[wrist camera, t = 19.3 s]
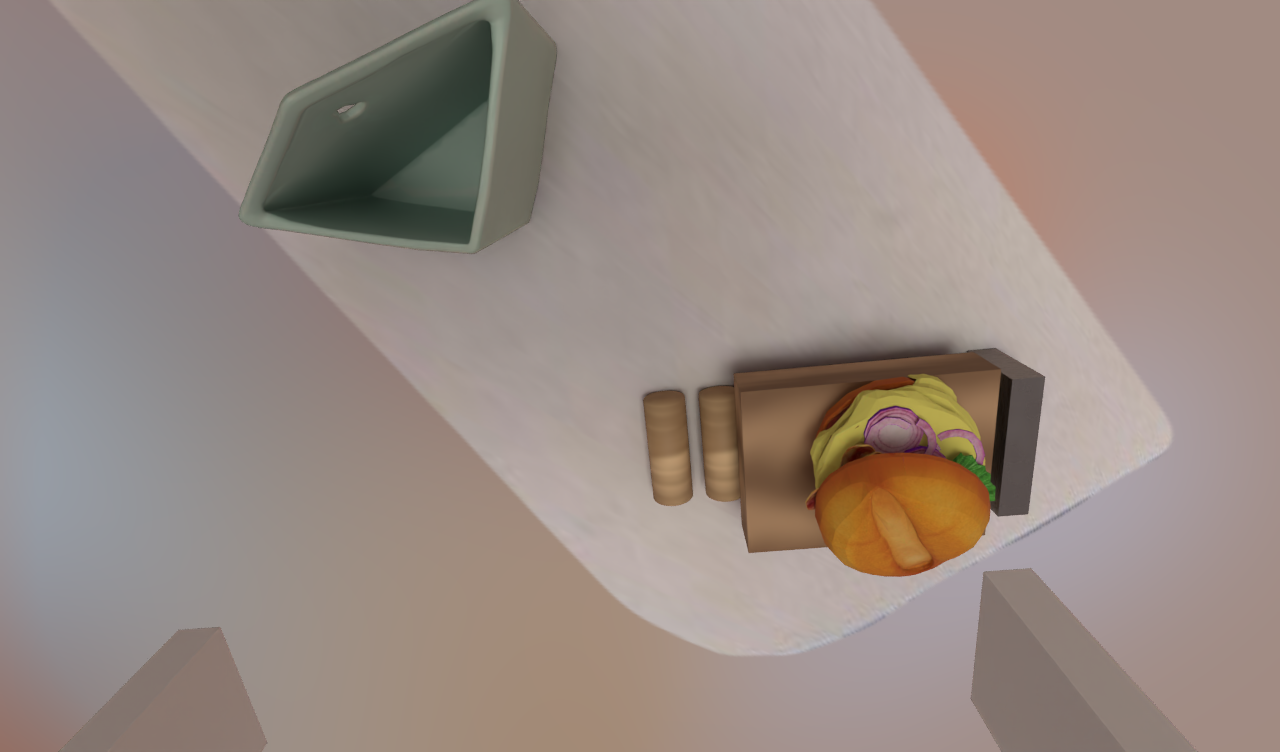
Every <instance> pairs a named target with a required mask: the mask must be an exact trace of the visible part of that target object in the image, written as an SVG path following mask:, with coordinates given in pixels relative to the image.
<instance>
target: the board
mask: <svg viewBox="0 0 1280 752" xmlns="http://www.w3.org/2000/svg"><path fill="white" fill-rule="evenodd" d="M919 374H927V375H930V376H934V377H938V378H939V379H940V380H941V381H942V382H944V383H945V384H946V385H947V386H948V387H950V388H951V389H952V390H953V392H954V394H955V395H956V397H957V403H958V404H959V405H960V406H961V407H963V408H964V409H965V410H966V411H967V412H968V413H969V415H970V416H971V417H972V419H973V420H974V422H975V423H976V426H977V428H978V431H979V434H980V437H981V438H980V441H981V443H982V446H983V450H984V453H985V468H986V471H987V472H988V473H990V474H991V468H992V458H993V448H994V438H995V427H996V417H997V407H998V397H999V387H1000V377H1001V369H1000V368H998V367H997V366H995V365H994V364H992V363H990V362H989V361H987V360H986V359H984V358H982V357H981V356H979V355H978V354H976V353H974V352H969V353H958V354H947V355H935V356H924V357H913V358H902V359H891V360H880V361H868V362H857V363H846V364H835V365H824V366H813V367H802V368H790V369H779V370H768V371H757V372H746V373H735V374H734V389H735V408H736V426H737V444H738V463H739V481H740V499H741V518H742V527H743V531H744V535H745V539H746V544H747V548H748V552H749V553H755V552H768V551H781V550H795V549H808V548H821V547H828V546H827V545H826V544H825V543H824V540H823V537H822V534H821V531H820V529H819V526H818V523H817V520H816V517H815V510H808V509H807V507H806V503H805V502H806V500H807V498H808V496H809V495H810V494H811V492H813V491H814V490H816V487H815V476H814V467H813V461H812V457H811V454H810V451H811V448H812V445H813V442H814V440H815V439H816V434H817V432H818V430H819V428H820V425H821V423H822V421H823V419H824V417H825V414H826V412H827V411H828V410H829V409H830V408H832V407H833V406H834V405H835V404H836V403H837V402H838V401H840V400H841V399H842V398H843V397H844V396H845V395H846V394H847V393H849V392H852V391H854V390H856V389H858V388H860V387H862V386H864V385H866V384H869V383H871V382H873V381H876V380H883V379H890V378H897V377H906V378H909V377H908V375H919ZM910 379H912V378H910ZM914 380H915V379H914ZM985 529H986V528H985ZM982 535H985V530H984V532H983V534H982Z"/></svg>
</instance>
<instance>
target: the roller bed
mask: <svg viewBox="0 0 1280 752" xmlns="http://www.w3.org/2000/svg"><path fill="white" fill-rule="evenodd" d="M643 403H644V412H645V421H646V430H647V440H648V449H649V458H650V467H651V477H652V486H653V495H654V500H655V501H656V502H657V503H659V504H661V505H666V506H676V505H681V504H684V503H686V502H688V501H689V500H690V499H691V498H692V496H693V489H692V477H691V465H690V453H689V441H688V429H687V417H686V405H685V396H684V394H682V393H680V392H677V391H658V392H654V393H651V394H649V395H647V396H646V397H645V398H644V399H643ZM699 406H700V420H701V433H702V446H703V459H704V473H705V486H706V494H707V496H708V497H709V498H711V499H713V500H716V501H722V502H728V501H734V500H737V499H739V498H740V481H739V463H738V444H737V426H736V408H735V389H734V387H731V386H714V387H709V388H706V389H703V390H702V391H700V392H699Z"/></svg>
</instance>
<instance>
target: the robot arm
mask: <svg viewBox="0 0 1280 752" xmlns="http://www.w3.org/2000/svg"><path fill="white" fill-rule="evenodd" d="M971 700H972V702H973V704H974V705H975V707H976V709H977V710H978V712H979V714H980V715H981V717H982V719H983V721H984V722H985V724H986V726H987V728H988V729H989V731H990V733H991V734H992V736H993V738H994V739H995V741H996V743H997V744H998V746H999V748H1000V750H1001V752H1198V751H1197V750H1196V749H1195V748H1194V747H1193V746H1192V744H1191V743H1190V742H1189V741H1188V740H1187V739H1186V738H1185V737H1184V736H1183V735H1182V733H1181V732H1180V731H1179V730H1178V729H1177V728H1176V727H1175V726H1174V725H1173V724H1172V722H1171V721H1170V720H1169V719H1168V718H1167V717H1166V716H1165V715H1164V714H1163V713H1162V711H1161V710H1160V709H1159V708H1158V707H1157V706H1156V705H1155V704H1154V703H1153V702H1152V700H1151V699H1150V698H1149V697H1148V696H1147V695H1146V694H1145V693H1144V692H1143V691H1142V690H1141V688H1139V686H1138V685H1137V684H1136V683H1135V682H1134V681H1133V680H1132V679H1131V677H1130V676H1129V675H1128V674H1127V673H1126V672H1125V671H1124V670H1123V669H1122V668H1121V667H1120V665H1119V664H1118V663H1117V662H1116V661H1115V660H1114V659H1113V658H1112V657H1111V655H1109V653H1108V652H1107V651H1106V650H1105V649H1104V648H1103V647H1102V646H1101V644H1099V642H1098V641H1097V640H1096V639H1095V638H1094V637H1093V636H1092V635H1091V633H1090V632H1089V631H1088V630H1087V629H1086V628H1085V627H1084V626H1083V625H1082V624H1081V622H1079V620H1078V619H1077V618H1076V617H1075V616H1074V615H1073V614H1072V613H1071V611H1070V610H1069V609H1068V608H1067V607H1066V606H1065V605H1064V604H1063V603H1062V602H1061V601H1060V600H1059V598H1058V597H1057V596H1056V595H1055V594H1054V593H1053V592H1052V591H1051V590H1050V589H1049V587H1048V586H1047V585H1046V584H1045V583H1044V582H1043V581H1042V580H1041V579H1040V577H1039V576H1038V575H1037V574H1036V573H1035V572H1034V571H1033V570H1032V569H1031V568H1028V569H1014V570H1000V571H986V572H984V573H983V583H982V592H981V602H980V612H979V623H978V633H977V643H976V653H975V663H974V673H973V683H972V692H971ZM266 744H267V740H266V738H265V736H264V733H263V731H262V728H261V726H260V723H259V721H258V719H257V716H256V714H255V711H254V709H253V706H252V704H251V702H250V699H249V696H248V694H247V691H246V689H245V687H244V684H243V682H242V679H241V677H240V675H239V672H238V669H237V667H236V665H235V662H234V660H233V657H232V655H231V652H230V650H229V647H228V645H227V643H226V640H225V637H224V635H223V633H222V630H221V628H220V627H212V628H198V629H185V630H178V631H177V632H176V633H175V634H174V635H173V636H172V637H171V638H170V639H169V640H168V641H167V642H166V643H165V644H164V645H163V646H162V647H161V648H160V649H159V650H158V651H157V652H156V653H155V654H154V655H153V656H152V657H151V658H150V659H149V660H148V661H147V662H146V663H145V664H144V665H143V666H142V667H141V668H140V670H138V671H137V673H135V675H134V676H133V677H132V678H130V680H129V681H128V682H127V683H126V684H125V685H124V686H123V687H122V688H121V689H120V690H119V691H118V692H117V693H116V694H115V695H114V696H113V697H112V698H111V699H110V700H109V701H108V702H107V703H106V704H105V705H104V706H103V707H102V708H101V709H100V710H99V711H98V712H97V713H96V714H95V715H94V716H93V717H92V718H91V719H90V720H89V721H88V722H87V723H86V724H85V725H84V726H83V727H82V728H81V729H80V730H79V731H78V732H77V733H76V734H75V735H74V736H73V737H72V738H71V739H70V740H69V741H68V742H67V743H66V744H65V745H64V746H63V747H62V748H61V749H60V750H59V751H58V752H262V750H263V749H264V747H265V746H266Z"/></svg>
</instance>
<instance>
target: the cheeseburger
mask: <svg viewBox="0 0 1280 752" xmlns="http://www.w3.org/2000/svg"><path fill="white" fill-rule="evenodd" d="M908 377H909V378H906V377H897V378H890V379H883V380H876V381H873V382H871V383H869V384H866V385H864V386H862V387H860V388H858V389H856V390H854V391H852V392H849V393H847V394H846V395H845V396H844V397H843V398H842V399H841V400H840V401H838V402H837V403H836V404H835V405H834V406H833V407H832V408H830V409H829V410H828V411H827V412H826V414H825V417H824V419H823V421H822V423H821V425H820V428H819V430H818V432H817V434H816V439H815V440H814V442H813V445H812V448H811V451H810V454H811V457H812V461H813V467H814V476H815V487H816V490H814V491H813V492H811V494H810V495H809V496H808V498H807V500H806V502H805V503H806V507H807V509H808V510H815V517H816V520H817V523H818V526H819V529H820V531H821V534H822V537H823V540H824V543H825V544H826V545H827V546H828V548H829V549H830V550H831V551H832V552H833V553H834V555H835V556H836V557H837V558H838V559H839V560H840V561H841V562H842V563H843V564H844V565H846V566H849V567H851V568H853V569H855V570H857V571H860V572H863V573H868V574H872V575H879V576H898V577H901V576H910V575H915V574H918V573H921V572H924V571H927V570H930V569H933V568H935V567H937V566H938V565H940V564H941V563H943V562H945V561H947V560H949V559H953V558H955V557H957V556H959V555H961V554H963V553H965V552H966V551H968V550H969V549H971V548H973V547H974V545H975V544H976V543H977V541H978V540H979V539H980V537H981V536H982V534H983V532H984V530H985V528H986V526H987V524H988V522H989V519H990V507H991V506H990V501H996V500H995V490H996V487H995V486H994V485H993V484H992V483H991V482H990V480H991V474H990V473H988V472H987V471H986V468H985V453H984V450H983V446H982V443H981V441H980V438H981V437H980V434H979V431H978V428H977V426H976V423H975V422H974V420H973V419H972V417H971V416H970V415H969V413H968V412H967V411H966V410H965V409H964V408H963V407H961V406H960V405H959V404H958V403H957V397H956V395H955V394H954V392H953V390H952V389H951V388H950V387H948V386H947V385H946V384H945V383H944V382H942V381H941V380H940V379H939V378H938V377H934V376H930V375H927V374H919V375H908ZM910 378H912V379H910ZM914 379H915V380H914Z"/></svg>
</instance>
